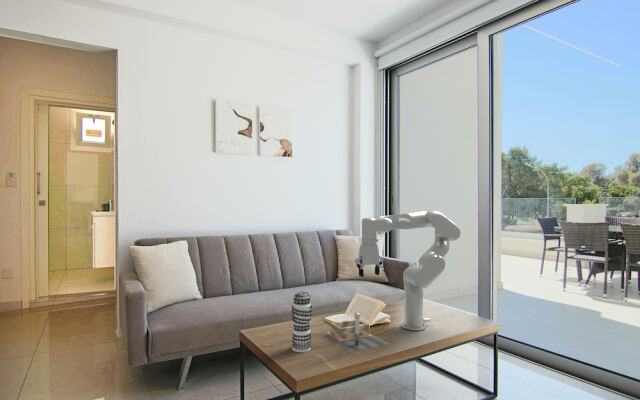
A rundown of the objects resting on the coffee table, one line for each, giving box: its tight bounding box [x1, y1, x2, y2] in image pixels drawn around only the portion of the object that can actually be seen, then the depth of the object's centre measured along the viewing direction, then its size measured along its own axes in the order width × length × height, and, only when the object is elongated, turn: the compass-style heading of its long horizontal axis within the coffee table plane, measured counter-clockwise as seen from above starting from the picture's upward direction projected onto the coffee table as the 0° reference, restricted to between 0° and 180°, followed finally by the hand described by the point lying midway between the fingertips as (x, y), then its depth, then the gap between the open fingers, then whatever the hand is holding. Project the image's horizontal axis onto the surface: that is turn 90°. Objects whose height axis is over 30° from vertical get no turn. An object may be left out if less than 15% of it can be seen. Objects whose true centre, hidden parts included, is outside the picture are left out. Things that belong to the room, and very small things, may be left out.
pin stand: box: [323, 312, 391, 353], centre depth 185 cm, size 21×26×16 cm
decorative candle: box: [291, 291, 313, 353], centre depth 175 cm, size 9×9×25 cm
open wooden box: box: [329, 318, 370, 340], centre depth 190 cm, size 16×10×5 cm, turn 116°
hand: (369, 275), depth 200 cm, fingers open, 9 cm apart
